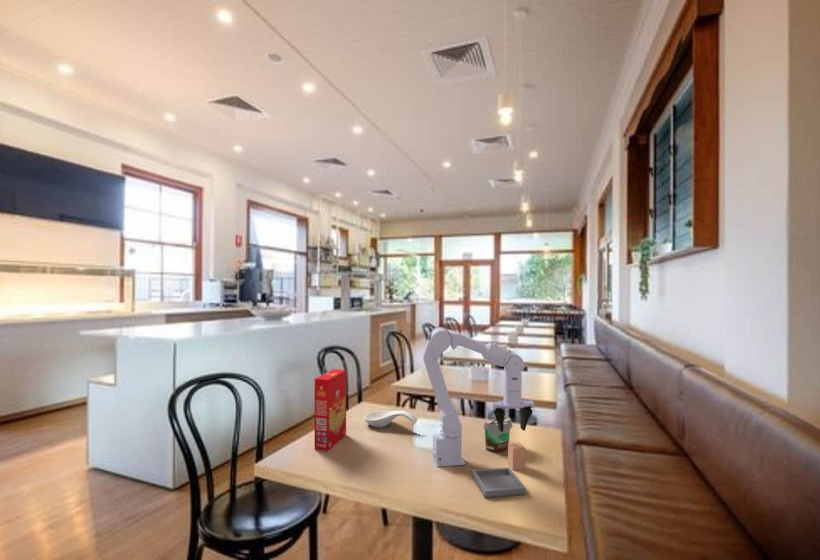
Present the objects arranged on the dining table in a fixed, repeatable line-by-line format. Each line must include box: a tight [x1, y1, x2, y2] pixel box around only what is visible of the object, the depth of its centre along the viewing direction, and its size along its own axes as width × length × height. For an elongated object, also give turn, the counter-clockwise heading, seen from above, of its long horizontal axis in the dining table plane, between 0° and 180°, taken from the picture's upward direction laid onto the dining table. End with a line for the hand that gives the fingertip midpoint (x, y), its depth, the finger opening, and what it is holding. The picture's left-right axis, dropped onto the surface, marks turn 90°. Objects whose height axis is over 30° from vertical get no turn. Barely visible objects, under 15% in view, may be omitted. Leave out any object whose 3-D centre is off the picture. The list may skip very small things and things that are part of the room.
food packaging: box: [314, 368, 347, 452], centre depth 148 cm, size 15×5×25 cm, turn 164°
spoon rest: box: [363, 410, 418, 428], centre depth 163 cm, size 24×12×7 cm, turn 65°
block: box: [507, 442, 526, 471], centre depth 130 cm, size 4×4×7 cm
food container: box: [483, 415, 513, 453], centre depth 143 cm, size 12×6×10 cm, turn 129°
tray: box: [471, 466, 527, 499], centre depth 119 cm, size 12×12×2 cm
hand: (512, 430), depth 134 cm, fingers open, 7 cm apart
